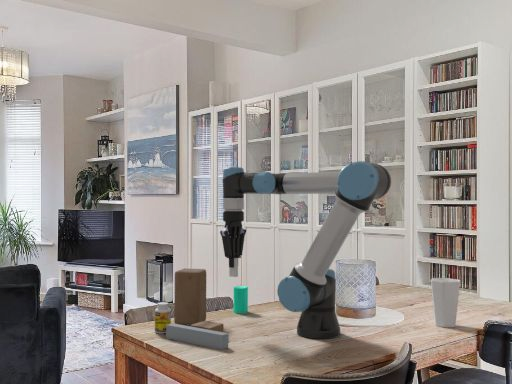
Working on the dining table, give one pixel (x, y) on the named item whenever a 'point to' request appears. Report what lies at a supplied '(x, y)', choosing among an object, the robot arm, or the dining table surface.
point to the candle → (240, 299)
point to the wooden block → (190, 296)
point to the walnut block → (209, 326)
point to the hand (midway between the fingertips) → (233, 276)
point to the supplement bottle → (162, 317)
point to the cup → (445, 300)
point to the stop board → (197, 336)
